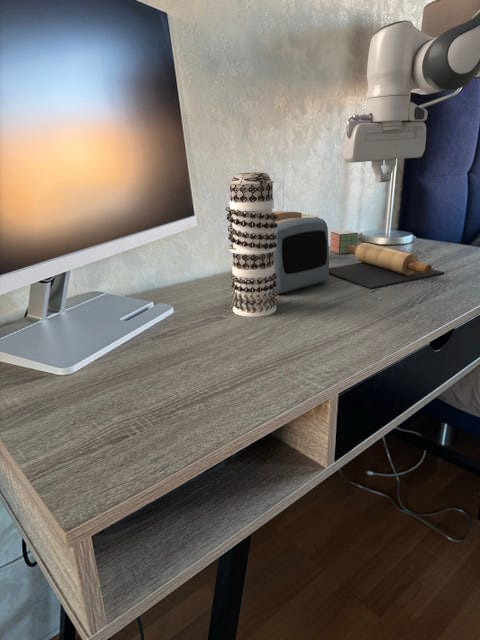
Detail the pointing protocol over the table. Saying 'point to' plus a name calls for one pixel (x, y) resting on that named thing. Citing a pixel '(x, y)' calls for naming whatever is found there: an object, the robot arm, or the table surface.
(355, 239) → the puzzle toy
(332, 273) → the pastry mat
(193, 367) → the table surface
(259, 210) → the white patterned cylinder
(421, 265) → the rolling pin
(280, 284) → the alarm clock
